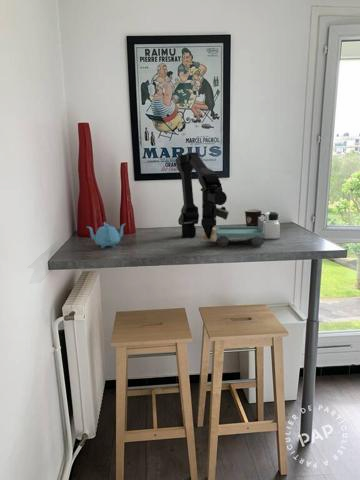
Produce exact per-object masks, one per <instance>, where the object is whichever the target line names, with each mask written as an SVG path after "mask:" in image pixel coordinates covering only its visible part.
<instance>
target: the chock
mask: <svg viewBox="0 0 360 480" xmlns="http://www.w3.org/2000/svg"><path fill="white" fill-rule="evenodd" d="M201 236H202V237H201V240H202V242H217V227H213V228H212V233H211V238H210V239H208V238H207V236H206V233H205V231H204V229H203V227H202V229H201Z"/></svg>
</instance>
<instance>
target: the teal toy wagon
mask: <svg viewBox="0 0 360 480" xmlns="http://www.w3.org/2000/svg"><path fill="white" fill-rule="evenodd" d="M263 221H264V220H263V218H262V216H261V217H258V227H246V226H216V242H217V245H218V246H219V247H222V248H224V247H227V246H228V245H229V242H230V240H229V239H242V238H243V239H250V240H251V244H252V245H253V247H256V248H257V247H261V246H262V245H263V244H264V233H263Z"/></svg>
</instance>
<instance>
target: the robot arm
mask: <svg viewBox="0 0 360 480" xmlns="http://www.w3.org/2000/svg"><path fill="white" fill-rule="evenodd" d="M175 164H176V169H177V170H178V172H179V174H180V177H181V178H180V179H181V185H182V186H181V188H182V198H183V199H182V200H183V205H182V207H181V209H180V215H179V218H178V219H177V220H178V225H180V226H181V238H195V237H197V227H196V226H195V225H198V224H199V220H200V214H199V207H198V206H196V205H195V203H194V202H195V201H194V192H193V191H194V190H193V182H192V172H193V170H194V171H195V172H196V174H197V175H198V179H197V180H198V183H199V184H200V186H201V188H200V191H201V193H202V194H201V195H202V196H201V198H202V199H201V201H202V203H201V210H202V211H201V213H202V214H201V222H200V224H201V226H202V228H203V229H204V231H205V233H206V236H207V238H208V239H210V238H211V233H212V228H215V226H217V218H218V217H219V218H221V219H223V220H227V219H228V216H229V213H230V212H229V211H228V210H227V209H226V207H225V206H223V205H224V204H226V202H227V199H228V198H227V197H228V196H227V194H226V192H225V191H223V186H222V183H221V181H220V178H219V176H218V174H217V172H216V171H214V170H212V169H211V168H209V167H207V165H206V164H205V163H204V161H203V160H202V159H201V157H200V156H199V153H198V152H196V151H195V152H194V151H193V152H192V151H191V152H187V153H185V154H180V155H178V156H177V157H176V158H175ZM217 206H221V207H217Z"/></svg>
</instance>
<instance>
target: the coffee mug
mask: <svg viewBox="0 0 360 480" xmlns="http://www.w3.org/2000/svg"><path fill="white" fill-rule="evenodd" d="M244 216H245V225H246V226H245V227H258V217H261V218H262V216H264V217H265V213H262V210H261V209H257V208H250V209H249V208H248V209H245V210H244ZM263 221H265V218H264V220H263Z"/></svg>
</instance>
